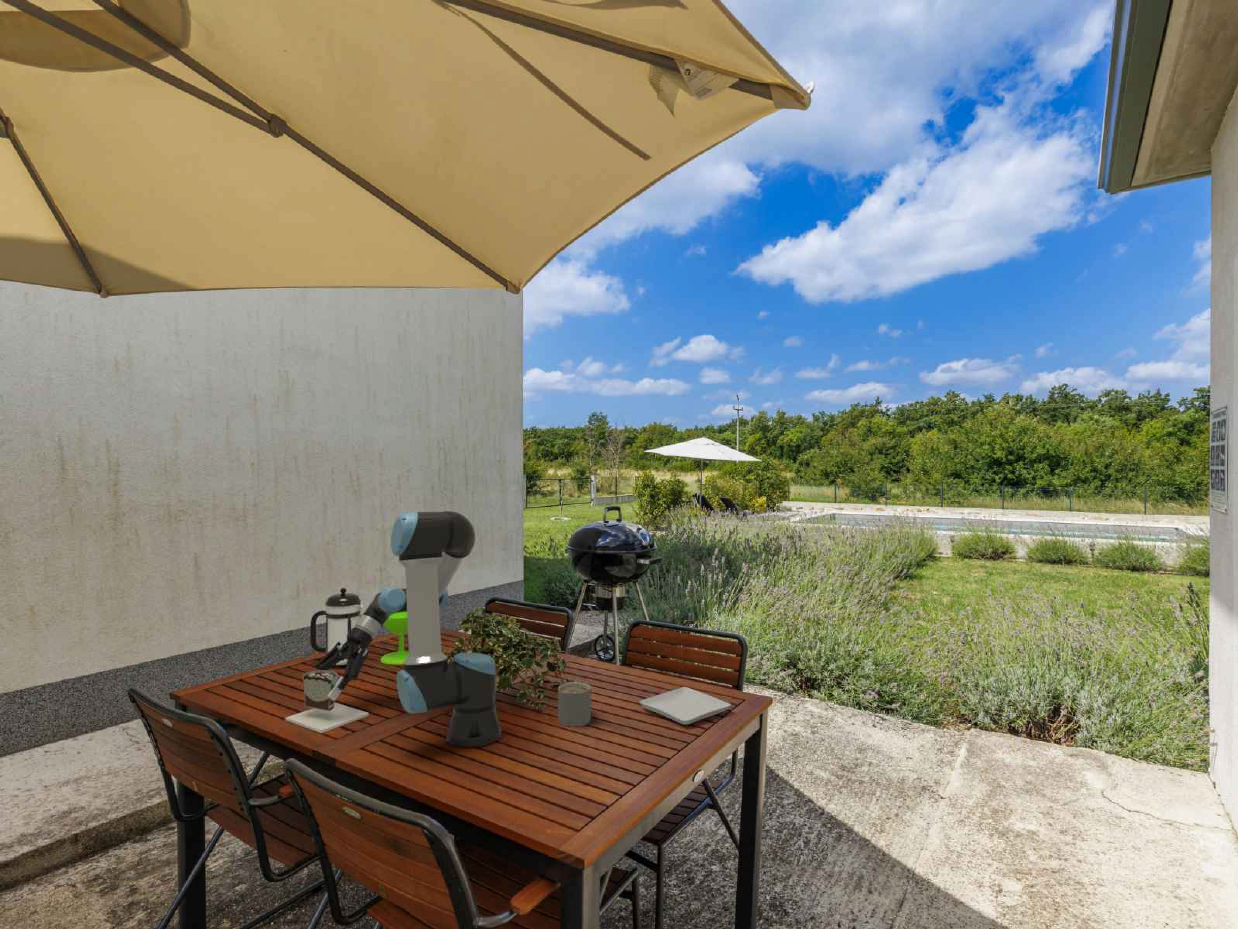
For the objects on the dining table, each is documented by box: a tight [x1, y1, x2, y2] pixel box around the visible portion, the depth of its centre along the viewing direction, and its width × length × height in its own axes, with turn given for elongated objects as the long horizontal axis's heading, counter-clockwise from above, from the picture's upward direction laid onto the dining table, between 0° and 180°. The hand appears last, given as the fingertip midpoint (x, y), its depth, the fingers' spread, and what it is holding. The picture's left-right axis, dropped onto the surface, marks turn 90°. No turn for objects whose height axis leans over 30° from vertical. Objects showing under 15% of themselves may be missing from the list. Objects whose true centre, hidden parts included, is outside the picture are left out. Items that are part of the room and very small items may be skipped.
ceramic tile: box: [284, 702, 370, 734], centre depth 200 cm, size 18×16×1 cm
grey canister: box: [557, 681, 592, 728], centre depth 200 cm, size 13×10×10 cm
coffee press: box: [309, 587, 364, 666], centre depth 254 cm, size 17×16×30 cm
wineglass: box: [380, 612, 409, 665], centre depth 263 cm, size 16×16×18 cm
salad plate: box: [639, 686, 732, 726], centre depth 206 cm, size 21×21×3 cm
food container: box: [301, 669, 340, 711], centre depth 200 cm, size 12×6×10 cm, turn 69°
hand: (319, 695), depth 198 cm, fingers closed on food container, 11 cm apart
